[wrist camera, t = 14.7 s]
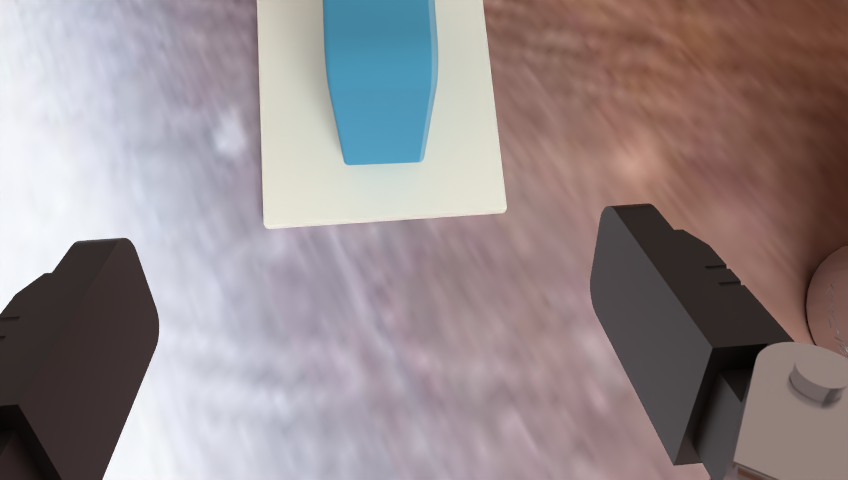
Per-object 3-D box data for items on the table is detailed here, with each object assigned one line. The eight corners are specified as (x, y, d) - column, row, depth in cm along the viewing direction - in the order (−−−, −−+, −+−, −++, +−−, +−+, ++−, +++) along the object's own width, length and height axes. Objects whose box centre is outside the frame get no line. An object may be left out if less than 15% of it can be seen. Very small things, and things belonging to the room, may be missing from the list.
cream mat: (473, -50, 39) (475, -60, 38) (503, 213, 36) (506, 208, 35) (258, -43, 38) (255, -54, 37) (267, 229, 35) (263, 225, 34)
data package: (338, -11, 37) (315, -184, 25) (410, -12, 37) (421, -184, 26) (345, 173, 35) (324, 74, 23) (422, 170, 35) (441, 71, 23)
